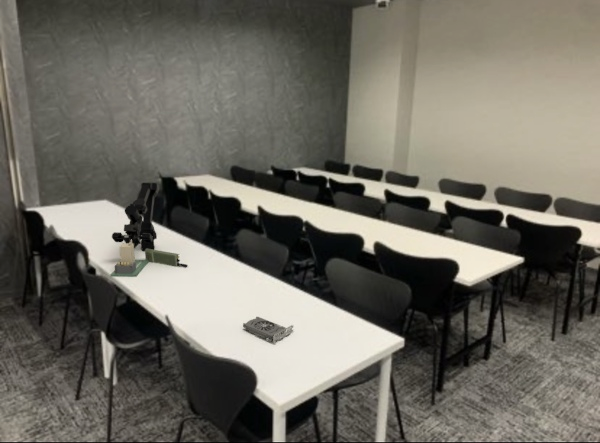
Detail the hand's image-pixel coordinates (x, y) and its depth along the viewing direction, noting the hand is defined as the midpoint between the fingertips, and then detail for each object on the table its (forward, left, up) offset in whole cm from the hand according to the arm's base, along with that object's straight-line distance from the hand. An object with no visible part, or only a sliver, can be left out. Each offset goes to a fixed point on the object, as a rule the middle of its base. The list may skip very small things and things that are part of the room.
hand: (129, 252), depth 225 cm
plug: (+1, +3, -7) cm, 8 cm away
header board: (0, 0, -8) cm, 8 cm away
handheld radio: (-17, -3, -9) cm, 20 cm away
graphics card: (-53, +76, -9) cm, 93 cm away
